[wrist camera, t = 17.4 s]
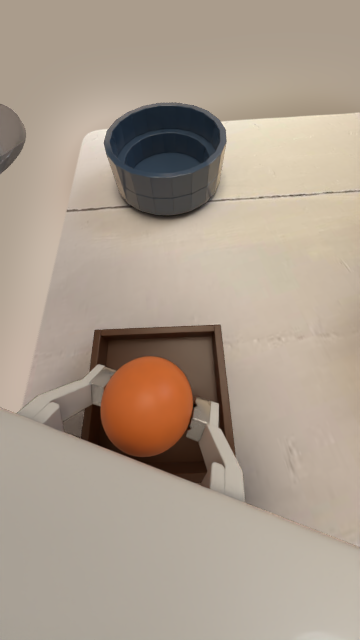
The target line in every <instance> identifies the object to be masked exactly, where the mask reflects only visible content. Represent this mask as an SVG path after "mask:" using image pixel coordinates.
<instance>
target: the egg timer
mask: <svg viewBox="0 0 360 640" xmlns="http://www.w3.org/2000/svg"><path fill="white" fill-rule="evenodd" d="M193 405H194V399H193V392H192V387H191V384H190V382H189V380H188V378H187V376H186V375H185V373H184V372H183V371H182V370H181V368H179V367H178V366H177V365H176V364H175V363H173V362H171V361H170V360H168V359H165V358H161V357H155V356H146V357H140V358H137V359H134V360H132V361H130V362H128V363H126V364H125V365H123V366H122V367H121V368H119V369H118V370H117V371H116V372H115V373H114V375H113V376H112V377H111V379H110V380H109V382H108V383H107V385H106V387H105V390H104V393H103V396H102V400H101V409H100V410H101V421H102V425H103V428H104V430H105V433H106V435H107V436H108V438H109V440H110V441H111V442H112V443H113V444H114V445H115V446H116V447H117V448H118V449H119V450H121V451H123V452H124V453H127V454H129V455H132V456H137V457H150V456H155V455H158V454H160V453H163V452H165V451H166V450H168V449H169V448H171V447H172V446H173V445H174V444H175V443H176V442H177V441H179V439H180V438H181V437H182V436H183V434H184V433H185V431H186V429H187V427H188V425H189V423H190V419H191V416H192V412H193Z"/></svg>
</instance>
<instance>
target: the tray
mask: <svg viewBox="0 0 360 640" xmlns="http://www.w3.org/2000/svg"><path fill="white" fill-rule="evenodd" d="M146 356H155V357H161V358H165V359H168V360H170V361H171V362H173V363H175V364H176V365H177V366H178V367H179V368H181V370H182V371H183V372H184V373H185V375H186V376H187V378H188V380H189V382H190V384H191V387H192V392H193V399H195V397H196V396H197V397H200V398H204V399H207V400H210V401H213V402H216V403H219V423H218V428H220V429H221V430H222V432H223V434H224V436H225V438H226V440H227V442H228V444H229V446H230V448H231V450H232V452H233V454H234V455H235V447H234V438H233V429H232V421H231V412H230V403H229V394H228V386H227V377H226V368H225V360H224V351H223V342H222V333H221V325H203V326H178V327H153V328H129V329H104V330H95V332H94V340H93V347H92V355H91V363H90V371H91V370H92V369H93V368H94V367H95V366H96V365H98V364H101V365H104V366H107V367H109V368H112V369H115V370H118V369H119V368H121V367H122V366H123V365H125V364H126V363H128V362H130V361H132V360H134V359H137V358H140V357H146ZM90 371H89V372H90ZM100 409H101V406H98V405H95V404H92V405H90V406H89V407H87V408H85V411H84V419H83V427H82V435H81V439H83V440H86V441H88V442H91V443H93V444H96V445H98V446H101V447H104V448H106V449H109V450H111V451H114V452H116V453H119V454H122V455H124V456H127V457H129V458H132V459H134V460H137V461H140V462H142V463H145V464H147V465H150V466H152V467H155V468H157V469H160V470H163V471H165V472H168V473H170V474H173V475H175V476H178V477H181V478H183V479H186V480H188V481H191V482H193V483H201V482H202V480H203V479H204V477H205V475H206V473H207V468H206V465H205V461H204V458H203V455H202V452H201V449H200V446H199V442H197V441H195V440H192V439H190V438H187V437H186V432H187V429H186V431H185V433H184V434H183V436H182V437H181V438H180V439H179V441H177V442H176V443H175V444H174V445H173V446H172V447H171V448H169V449H168V450H166V451H165V452H163V453H160V454H158V455H155V456H150V457H137V456H132V455H129V454H127V453H124V452H123V451H121V450H119V449H118V448H117V447H116V446H115V445H114V444H113V443H112V442H111V441H110V440H109V438H108V436H107V435H106V433H105V430H104V428H103V425H102V421H101V410H100ZM235 457H236V456H235Z"/></svg>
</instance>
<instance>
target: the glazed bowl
mask: <svg viewBox="0 0 360 640" xmlns="http://www.w3.org/2000/svg"><path fill="white" fill-rule="evenodd" d="M226 142H227V141H226V130H225V128H224V126H223V125H222V123H221V122H220V120H219V119H218V118H217V117H215V116H214V115H213V114H211V113H210V112H209V111H207V110H204V109H202V108H199V107H197V106H194V105H188V104H182V103H156V104H151V105H146V106H142V107H140V108H137V109H135V110H132V111H129V112H127V113H126V114H124V115H123V116H121V117H120V118H118V119H117V120H116V121H115V122H114V123H113V124H112V125H111V127H110V128H109V129H108V130H107V133H106V136H105V140H104V146H105V150H106V155H107V158H108V160H109V163H110V166H111V169H112V172H113V175H114V178H115V181H116V184H117V187H118V189H119V192H120V194H121V195H122V197H123V198H124V199H125V200H126V202H127V203H128V204H130V205H131V206H133V207H135V208H136V209H138V210H140V211H143V212H147V213H151V214H155V215H177V214H181V213H185V212H189V211H192V210H194V209H196V208H198V207H199V206H201V205H203V204H205V203H206V202H207V201H208V200H209V199H210V198H211V197H212V196H213V195H214V194H215V192H216V189H217V187H218V184H219V181H220V176H221V170H222V164H223V159H224V153H225V148H226Z"/></svg>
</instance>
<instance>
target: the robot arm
mask: <svg viewBox="0 0 360 640" xmlns="http://www.w3.org/2000/svg"><path fill="white" fill-rule="evenodd" d="M116 371H117V370H115V369H112V368H109V367H107V366H104V365H101V364H98V365H96V366H95V367H94V368H93V369H92V370H91V371H90V372H89V373H88V374H87V375H86V376H85V377H84V378H83V379H82V380H77V381H75V382H72V383H69V384H67V385H64V386H62V387H59V388H56V389H54V390H51V391H48V392H46V393H43V394H40V395H38V396H36V397H35V398H34V399H33V400H32V401H30V402H29V403H28V404H27V405H26V406H25V407H23V408H22V409H21V410H20V411H19V412H17V413H14V412H11V411H9V410H6V409H3V408H1V407H0V640H360V547H358V546H355V545H353V544H350V543H348V542H345V541H342V540H340V539H337V538H335V537H332V536H330V535H327V534H324V533H322V532H319V531H317V530H314V529H312V528H309V527H306V526H304V525H301V524H299V523H296V522H294V521H291V520H288V519H286V518H283V517H281V516H278V515H276V514H273V513H270V512H268V511H265V510H263V509H260V508H258V507H255V506H252V505H250V504H247V503H245V493H244V480H243V471H242V469H241V467H240V465H239V463H238V461H237V459H236V457H235V455H234V454H233V452H232V450H231V448H230V446H229V444H228V442H227V440H226V438H225V436H224V434H223V432H222V430H221V429H220V428H218V423H219V403H216V402H213V401H210V400H207V399H204V398H200V397H197V396H196V397H195V399H194V405H193V412H192V416H191V419H190V423H189V425H188V427H187V432H186V437H187V438H190V439H192V440H195V441H197V442H199V446H200V449H201V452H202V455H203V458H204V461H205V465H206V468H207V473H206V475H205V477H204V479H203V480H202V482H201V484H200V485H199V484H196V483H193V482H191V481H188V480H186V479H183V478H181V477H178V476H175V475H173V474H170V473H168V472H165V471H163V470H160V469H157V468H155V467H152V466H150V465H147V464H145V463H142V462H140V461H137V460H134V459H132V458H129V457H127V456H124V455H122V454H119V453H116V452H114V451H111V450H109V449H106V448H104V447H101V446H98V445H96V444H93V443H91V442H88V441H86V440H83V439H80V438H78V437H75V436H73V435H70V434H68V433H65V432H64V428H63V423H62V422H63V421H65V420H67V419H68V418H70V417H72V416H73V415H75V414H77V413H78V412H80V411H82V410H83V409H85V408H87V407H89V406H90V405H92V404H95V405H98V406H101V400H102V396H103V393H104V390H105V387H106V385H107V383H108V382H109V380H110V379H111V377H112V376H113V375H114V373H115V372H116Z"/></svg>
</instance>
